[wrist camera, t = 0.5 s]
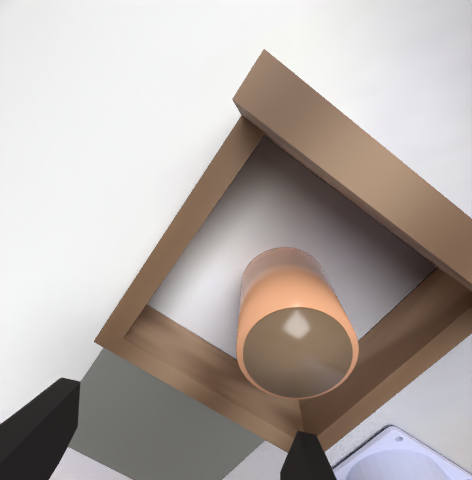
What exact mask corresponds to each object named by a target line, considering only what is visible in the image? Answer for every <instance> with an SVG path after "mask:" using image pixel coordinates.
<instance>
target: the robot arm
mask: <svg viewBox="0 0 472 480" xmlns="http://www.w3.org/2000/svg"><path fill="white" fill-rule="evenodd" d="M79 398H80V382H79V381H75V380H70V379H66V378H60V379H58V380H57V381H56V382H55V383H53V384H52V385H51V386H50V387H48V388H47V389H46V390H44V391H43V392H42V393H41V394H39V395H38V396H37V397H36V398H34V399H33V400H32V401H30V402H29V403H28V404H27V405H25V406H24V407H23V408H21V409H20V410H19V411H17V412H16V413H15V414H14V415H12V416H11V417H9V418H8V419H7V420H5V421H4V422H3V423H1V424H0V480H49V478H50V477H51V475H52V473H53V472H54V470H55V469H56V467H57V465H58V464H59V462H60V460H61V458H62V456H63V455H64V453H65V451H66V449H67V447H68V445H69V443H70V441H71V439H72V437H73V435H74V433H75V431H76V429H77V427H78V415H79ZM280 480H472V475H471V474H470V473H468V472H466V471H465V470H463V469H462V468H460V467H459V466H457V465H455V464H454V463H452V462H451V461H449V460H447V459H446V458H444V457H443V456H441V455H440V454H438V453H436V452H435V451H433V450H432V449H430V448H428V447H427V446H425V445H424V444H422V443H421V442H419V441H417V440H416V439H414V438H413V437H411V436H410V435H408V434H406V433H405V432H403V431H402V430H400V429H398V428H397V427H394V426H390V427H388V428H386V429H385V430H384V431H382V432H381V433H380V434H378V435H377V436H376V437H375V438H373V439H372V440H371V441H369V442H368V443H367V444H365V445H364V446H363V447H362V448H360V449H359V450H358V451H356V452H355V453H354V454H352V455H351V456H350V457H349V458H347V459H346V460H345V461H343V462H342V463H341V464H339V465H338V466H337V467H336V468H334V469H333V470H332V468H331V466H330V463H329V461H328V459H327V457H326V455H325V453H324V450H323V448H322V446H321V444H320V442H319V439H318V437H317V436H316V435H315V434H310V433H306V432H301V431H297V433H296V436H295V438H294V441H293V443H292V445H291V448H290V450H289V453H288V455H287V457H286V460H285V462H284V464H283V467H282V469H281V472H280Z"/></svg>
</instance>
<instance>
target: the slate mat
mask: <svg viewBox="0 0 472 480" xmlns="http://www.w3.org/2000/svg"><path fill="white" fill-rule="evenodd" d="M264 441H265V439H263V438H261V437H259V436H258V435H256V434H254V433H252V432H251V431H249V430H247V429H246V428H244V427H242V426H240V425H239V424H237V423H235V422H233V421H232V420H230V419H228V418H226V417H225V416H223V415H221V414H219V413H218V412H216V411H214V410H212V409H211V408H209V407H207V406H205V405H204V404H202V403H200V402H198V401H197V400H195V399H193V398H191V397H190V396H188V395H186V394H184V393H183V392H181V391H179V390H177V389H176V388H174V387H172V386H170V385H169V384H167V383H165V382H163V381H162V380H160V379H158V378H156V377H155V376H153V375H151V374H149V373H148V372H146V371H144V370H142V369H141V368H139V367H137V366H135V365H134V364H132V363H130V362H128V361H127V360H125V359H123V358H121V357H120V356H118V355H116V354H114V353H113V352H111V351H109V350H107V349H106V348H104V349H103V350H102V351H101V353H100V354H99V356H98V357H97V359H96V360H95V362H94V363H93V365H92V366H91V368H90V369H89V371H88V372H87V374H86V375H85V377H84V378H83V379H82V381H81V382H80V398H79V415H78V427H77V429H76V431H75V433H74V435H73V437H72V439H71V441H70V443H69V445H68V447H70V448H72V449H74V450H76V451H78V452H80V453H82V454H84V455H86V456H88V457H90V458H92V459H94V460H95V461H97V462H99V463H101V464H103V465H105V466H107V467H109V468H111V469H113V470H115V471H117V472H119V473H121V474H123V475H125V476H127V477H129V478H131V479H133V480H222V479H223V478H224V477H225V476H226V475H227V474H229V473H230V472H231V471H232V470H233V469H234V468H235V467H236V466H237V465H238V464H239V463H241V462H242V461H243V460H244V459H245V458H246V457H247V456H248V455H249V454H250V453H252V452H253V451H254V450H255V449H256V448H257V447H258V446H259V445H260V444H261V443H263V442H264Z"/></svg>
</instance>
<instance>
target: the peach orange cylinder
mask: <svg viewBox="0 0 472 480" xmlns="http://www.w3.org/2000/svg"><path fill="white" fill-rule="evenodd" d="M358 352H359V346H358V339H357V336H356V333H355V331H354V329H353V327H352V325H351V323H350V321H349V319H348V318H347V316H346V314H345V312H344V310H343V308H342V306H341V304H340V302H339V300H338V298H337V296H336V294H335V292H334V290H333V289H332V287H331V285H330V283H329V281H328V279H327V277H326V275H325V273H324V271H323V269H322V267H321V266H320V264H319V263H318V262H317V261H316V259H315V258H313V257H312V256H311V255H309V254H308V253H306V252H304V251H302V250H299V249H295V248H289V247H281V248H274V249H271V250H267V251H265V252H263V253H261V254H260V255H258V256H257V257H256V258H254V259H253V260H252V261H251V262H250V264H249V265H248V266H247V268H246V270H245V272H244V275H243V278H242V286H241V298H240V310H239V322H238V335H237V347H236V354H237V360H238V364H239V366H240V369H241V371H242V372H243V374H244V375H245V377H246V378H247V379H248V380H249V381H250V382H251V383H252V384H253V385H254V386H256V387H257V388H258V389H260V390H262V391H264V392H266V393H268V394H270V395H273V396H276V397H280V398H286V399H307V398H312V397H317V396H320V395H322V394H325V393H327V392H329V391H331V390H333V389H335V388H336V387H338V386H339V385H340V384H341V383H343V382H344V381H345V380H346V379H347V378H348V376H349V375H350V374H351V372H352V370H353V369H354V367H355V364H356V362H357V358H358Z"/></svg>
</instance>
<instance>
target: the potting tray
mask: <svg viewBox="0 0 472 480" xmlns="http://www.w3.org/2000/svg"><path fill="white" fill-rule="evenodd" d="M232 100H233V101H234V103H235V105H236V106H237V108H238V110H239V112H240V113H241V115H242V116H241V117H240V119H239V120H238V122H237V123H236V125H235V126H234V128H233V129H232V131H231V132H230V134H229V136H228V137H227V139H226V140H225V142H224V143H223V145H222V146H221V148H220V149H219V151H218V152H217V154H216V155H215V157H214V158H213V160H212V161H211V163H210V165H209V166H208V168H207V169H206V171H205V172H204V174H203V175H202V177H201V178H200V180H199V181H198V183H197V184H196V186H195V187H194V189H193V190H192V192H191V194H190V195H189V197H188V198H187V200H186V201H185V203H184V204H183V206H182V207H181V209H180V210H179V212H178V213H177V215H176V216H175V218H174V220H173V221H172V223H171V224H170V226H169V227H168V229H167V230H166V232H165V233H164V235H163V236H162V238H161V239H160V241H159V242H158V244H157V245H156V247H155V249H154V250H153V252H152V253H151V255H150V256H149V258H148V259H147V261H146V262H145V264H144V265H143V267H142V268H141V270H140V271H139V273H138V275H137V276H136V278H135V279H134V281H133V282H132V284H131V285H130V287H129V288H128V290H127V291H126V293H125V294H124V296H123V297H122V299H121V300H120V302H119V304H118V305H117V307H116V308H115V310H114V311H113V313H112V314H111V316H110V317H109V319H108V320H107V322H106V323H105V325H104V326H103V328H102V330H101V331H100V333H99V334H98V336H97V337H96V339H95V340H94V342H95V343H97V344H99V345H100V346H102V347H104V348H106V349H107V350H109V351H111V352H113V353H114V354H116V355H118V356H120V357H121V358H123V359H125V360H127V361H128V362H130V363H132V364H134V365H135V366H137V367H139V368H141V369H142V370H144V371H146V372H148V373H149V374H151V375H153V376H155V377H156V378H158V379H160V380H162V381H163V382H165V383H167V384H169V385H170V386H172V387H174V388H176V389H177V390H179V391H181V392H183V393H184V394H186V395H188V396H190V397H191V398H193V399H195V400H197V401H198V402H200V403H202V404H204V405H205V406H207V407H209V408H211V409H212V410H214V411H216V412H218V413H219V414H221V415H223V416H225V417H226V418H228V419H230V420H232V421H233V422H235V423H237V424H239V425H240V426H242V427H244V428H246V429H247V430H249V431H251V432H252V433H254V434H256V435H258V436H259V437H261V438H263V439H265V440H266V441H268V442H270V443H272V444H273V445H275V446H277V447H279V448H280V449H282V450H284V451H286V452H287V453H289V450H290V448H291V445H292V443H293V441H294V438H295V436H296V433H297V431H301V432H306V433H310V434H315V435H316V436H317V437H318V439H319V442H320V444H321V446H322V448H323V450H324V452H325V451H327V450H328V449H329V448H330V447H332V446H333V445H334V444H335V443H337V442H338V441H339V440H340V439H341V438H343V437H344V436H345V435H346V434H348V433H349V432H350V431H351V430H353V429H354V428H355V427H356V426H358V425H359V424H360V423H361V422H363V421H364V420H365V419H366V418H367V417H369V416H370V415H371V414H372V413H374V412H375V411H376V410H377V409H379V408H380V407H381V406H382V405H384V404H385V403H386V402H387V401H389V400H390V399H391V398H392V397H393V396H395V395H396V394H397V393H398V392H400V391H401V390H402V389H403V388H405V387H406V386H407V385H408V384H410V383H411V382H412V381H413V380H415V379H416V378H417V377H418V376H419V375H421V374H422V373H423V372H424V371H426V370H427V369H428V368H429V367H431V366H432V365H433V364H434V363H436V362H437V361H438V360H439V359H441V358H442V357H443V356H444V355H445V354H447V353H448V352H449V351H450V350H452V349H453V348H454V347H455V346H457V345H458V344H459V343H460V342H462V341H463V340H464V339H465V338H467V337H468V336H469V335H470V334H471V333H472V219H471V218H470V217H469V216H468V215H466V214H465V213H464V212H463V211H462V210H460V209H459V208H458V207H457V206H455V205H454V204H453V203H452V202H451V201H449V200H448V199H447V198H446V197H444V196H443V195H442V194H441V193H440V192H438V191H437V190H436V189H435V188H433V187H432V186H431V185H430V184H429V183H427V182H426V181H425V180H424V179H422V178H421V177H420V176H419V175H418V174H416V173H415V172H414V171H413V170H411V169H410V168H409V167H408V166H407V165H405V164H404V163H403V162H402V161H400V160H399V159H398V158H397V157H396V156H394V155H393V154H392V153H391V152H389V151H388V150H387V149H386V148H385V147H383V146H382V145H381V144H380V143H379V142H377V141H376V140H375V139H374V138H372V137H371V136H370V135H369V134H368V133H366V132H365V131H364V130H363V129H361V128H360V127H359V126H358V125H357V124H355V123H354V122H353V121H352V120H350V119H349V118H348V117H347V116H346V115H344V114H343V113H342V112H341V111H339V110H338V109H337V108H336V107H335V106H333V105H332V104H331V103H330V102H328V101H327V100H326V99H325V98H324V97H322V96H321V95H320V94H319V93H317V92H316V91H315V90H314V89H313V88H311V87H310V86H309V85H308V84H306V83H305V82H304V81H303V80H302V79H300V78H299V77H298V76H297V75H295V74H294V73H293V72H292V71H291V70H289V69H288V68H287V67H286V66H284V65H283V64H282V63H281V62H280V61H278V60H277V59H276V58H275V57H273V56H272V55H271V54H270V53H269V52H267V51H266V50H265V49H264V50H263V51H262V53H261V55H260V56H259V58H258V59H257V61H256V62H255V64H254V66H253V67H252V69H251V70H250V72H249V74H248V75H247V77H246V78H245V80H244V81H243V83H242V85H241V86H240V88H239V89H238V91H237V93H236V94H235V96H234V97H233V99H232ZM264 135H265V136H266V137H267V138H269V139H270V140H271V141H273V142H274V143H275V144H277V145H278V146H279V147H281V148H282V149H283V150H284V151H286V152H287V153H288V154H290V155H291V156H292V157H294V158H295V159H296V160H298V161H299V162H300V163H301V164H303V165H304V166H305V167H307V168H308V169H309V170H311V171H312V172H313V173H315V174H316V175H317V176H318V177H320V178H321V179H322V180H324V181H325V182H326V183H328V184H329V185H330V186H332V187H333V188H334V189H335V190H337V191H338V192H339V193H341V194H342V195H343V196H345V197H346V198H347V199H349V200H350V201H351V202H353V203H354V204H355V205H356V206H358V207H359V208H360V209H362V210H363V211H364V212H366V213H367V214H368V215H370V216H371V217H372V218H373V219H375V220H376V221H377V222H379V223H380V224H381V225H383V226H384V227H385V228H387V229H388V230H389V231H390V232H392V233H393V234H394V235H396V236H397V237H398V238H400V239H401V240H402V241H404V242H405V243H406V244H407V245H409V246H410V247H411V248H413V249H414V250H415V251H417V252H418V253H419V254H421V255H422V256H423V257H424V258H426V259H427V260H428V261H430V262H431V263H432V264H434V265H435V266H436V267H438V268H437V269H436V270H434V271H433V272H432V273H431V274H430V275H429V276H428V277H427V278H426V279H425V280H424V281H423V282H422V283H421V284H419V285H418V286H417V287H416V288H415V289H414V290H413V291H412V292H411V293H410V294H409V295H408V296H407V297H405V298H404V299H403V300H402V301H401V302H400V303H399V304H398V305H397V306H396V307H395V308H394V309H393V310H392V311H390V312H389V313H388V314H387V315H386V316H385V317H384V318H383V319H382V320H381V321H380V322H379V323H378V324H376V325H375V326H374V327H373V328H372V329H371V330H370V331H369V332H368V333H367V334H366V335H365V336H364V337H363V338H361V339H360V340H359V341H358V346H359V352H358V358H357V362H356V364H355V367H354V369H353V370H352V372H351V374H350V375H349V376H348V378H347V379H346V380H345V381H344V382H343V383H341V384H340V385H339V386H338V387H336V388H335V389H333V390H331V391H329V392H327V393H325V394H322V395H320V396H317V397H312V398H307V399H286V398H280V397H276V396H273V395H270V394H268V393H266V392H264V391H262V390H260V389H258V388H257V387H256V386H254V385H253V384H252V383H251V382H250V381H249V380H248V379H247V378H246V377H245V375H244V374H243V372H242V371H241V369H240V366H239V364H238V360H236V359H235V358H233V357H231V356H230V355H228V354H227V353H225V352H223V351H222V350H220V349H218V348H217V347H215V346H213V345H212V344H210V343H209V342H207V341H205V340H204V339H202V338H200V337H199V336H197V335H195V334H194V333H192V332H191V331H189V330H187V329H186V328H184V327H182V326H181V325H179V324H177V323H176V322H174V321H173V320H171V319H169V318H168V317H166V316H164V315H163V314H161V313H159V312H158V311H156V310H155V309H153V308H151V307H150V306H148V305H146V304H147V303H148V301H149V300H150V298H151V297H152V296H153V294H154V293H155V291H156V290H157V288H158V287H159V286H160V284H161V283H162V281H163V280H164V278H165V277H166V275H167V274H168V273H169V271H170V270H171V268H172V267H173V265H174V264H175V263H176V261H177V260H178V258H179V257H180V255H181V254H182V253H183V251H184V250H185V248H186V247H187V245H188V244H189V242H190V241H191V240H192V238H193V237H194V235H195V234H196V232H197V231H198V230H199V228H200V227H201V225H202V224H203V222H204V221H205V220H206V218H207V217H208V215H209V214H210V212H211V211H212V209H213V208H214V207H215V205H216V204H217V202H218V201H219V199H220V198H221V197H222V195H223V194H224V192H225V191H226V189H227V188H228V187H229V185H230V184H231V182H232V181H233V179H234V178H235V176H236V175H237V174H238V172H239V171H240V169H241V168H242V166H243V165H244V164H245V162H246V161H247V159H248V158H249V156H250V155H251V154H252V152H253V151H254V149H255V148H256V146H257V145H258V144H259V142H260V141H261V139H262V138H263V136H264Z"/></svg>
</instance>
